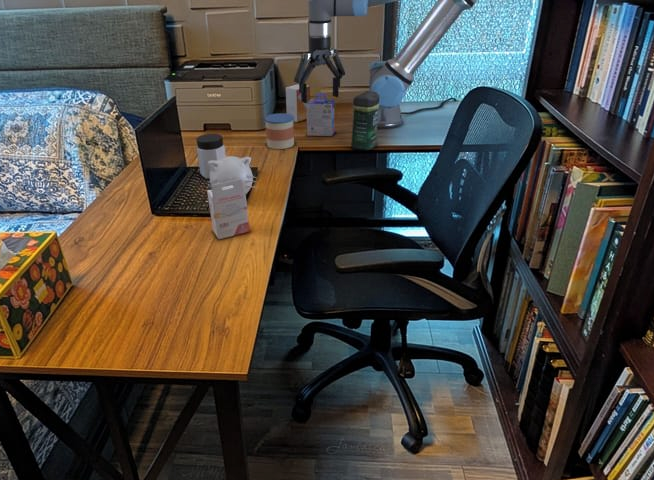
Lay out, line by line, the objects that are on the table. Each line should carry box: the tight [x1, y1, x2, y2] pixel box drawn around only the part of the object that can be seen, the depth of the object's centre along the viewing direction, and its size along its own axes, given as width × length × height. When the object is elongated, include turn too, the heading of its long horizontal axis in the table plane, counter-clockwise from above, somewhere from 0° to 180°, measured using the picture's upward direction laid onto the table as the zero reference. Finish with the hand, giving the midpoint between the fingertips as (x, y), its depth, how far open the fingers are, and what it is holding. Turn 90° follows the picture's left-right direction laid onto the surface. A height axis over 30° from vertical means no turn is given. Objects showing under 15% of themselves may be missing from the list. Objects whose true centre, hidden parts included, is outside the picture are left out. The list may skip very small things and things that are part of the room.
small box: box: [285, 83, 311, 123], centre depth 204 cm, size 8×6×13 cm
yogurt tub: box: [264, 112, 295, 150], centre depth 180 cm, size 10×10×10 cm
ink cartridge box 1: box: [206, 179, 250, 240], centre depth 124 cm, size 9×5×15 cm, turn 114°
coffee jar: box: [351, 90, 380, 151], centre depth 171 cm, size 10×8×19 cm
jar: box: [195, 133, 227, 180], centre depth 158 cm, size 9×8×12 cm
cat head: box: [207, 155, 260, 195], centre depth 143 cm, size 15×13×12 cm
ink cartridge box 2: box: [306, 93, 335, 137], centre depth 186 cm, size 10×6×14 cm, turn 78°
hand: (320, 99), depth 183 cm, fingers open, 13 cm apart
